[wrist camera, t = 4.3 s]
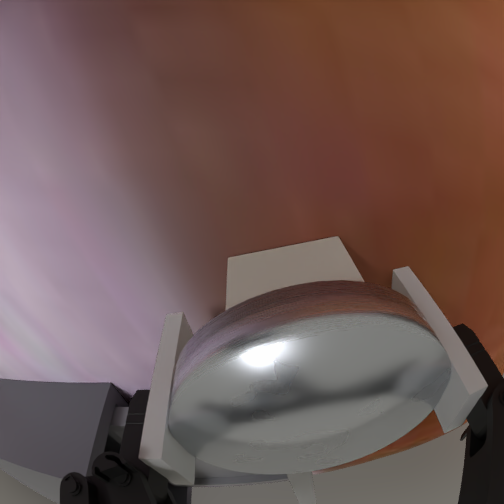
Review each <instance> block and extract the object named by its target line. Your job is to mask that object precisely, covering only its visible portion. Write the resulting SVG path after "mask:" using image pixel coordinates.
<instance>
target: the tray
mask: <svg viewBox="0 0 504 504" xmlns="http://www.w3.org/2000/svg"><path fill="white" fill-rule="evenodd" d="M128 409H129V407H115V408H114V412H113V416H112V420H111V424H110V428H109V432H108V434H109V435H110V436H111V437H112V438H113V439H115V440H116V441H117V442H118V443H119V444H120V445H121V442H122V437H123V432H124V427H125V425H126V418H127V415H128ZM287 480H289V481H290V484H291V486H292V488H293V491H294V493H295V495H296V498H297V500H298V502H299V504H317V503H316V496H315V489H314V484H313V477H312V471H310V472H303V473H294V474H253V473H245V472H238V471H233V470H228V469H224V468H221V467H217V466H214V465H212V464H209V463H206V462H204V461H202V460H200V459H198V458H196V457H195V480H194V485H175V484H173V483H172V482H170V481H169V480H168V482H169V483H171V484H172V485H173V486H180V487H218V486H239V485H253V484H263V483H272V482H281V481H287Z"/></svg>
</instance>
